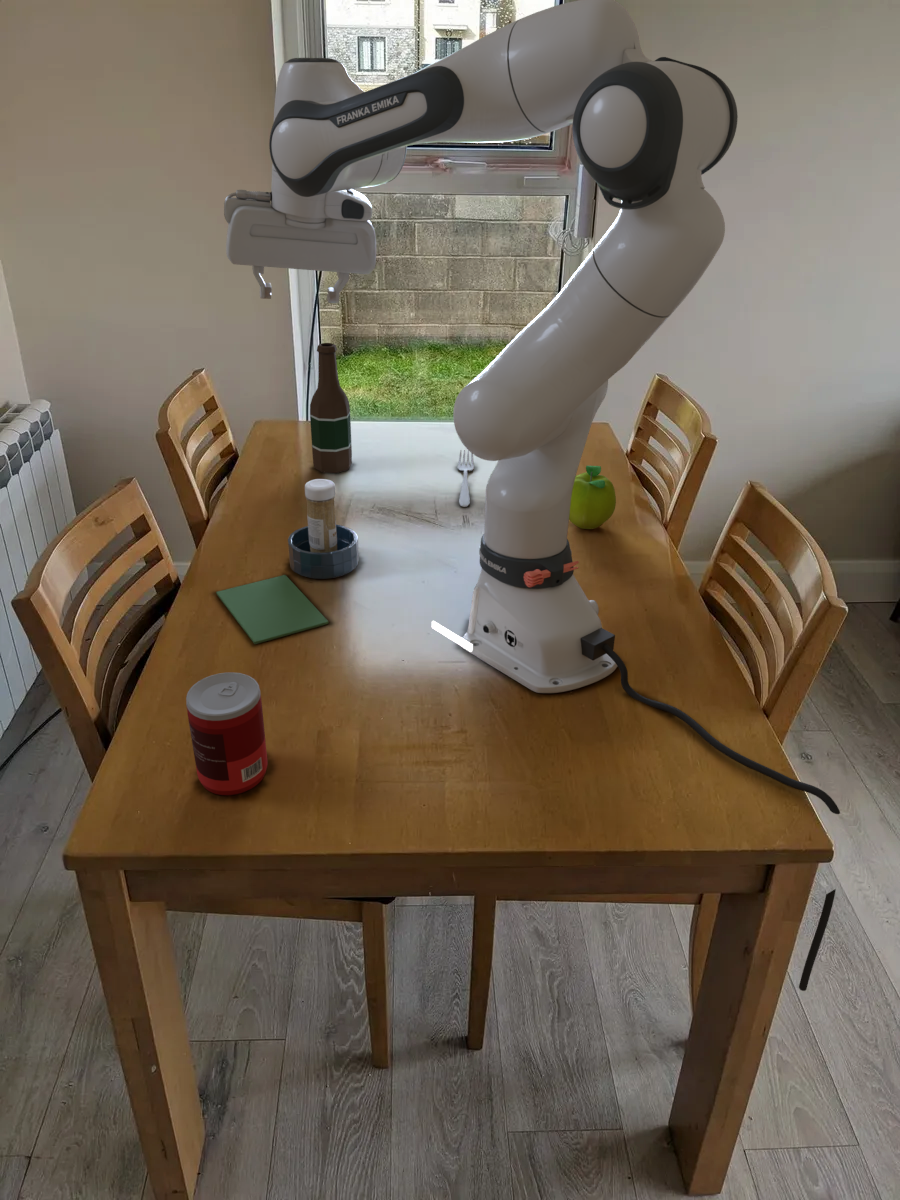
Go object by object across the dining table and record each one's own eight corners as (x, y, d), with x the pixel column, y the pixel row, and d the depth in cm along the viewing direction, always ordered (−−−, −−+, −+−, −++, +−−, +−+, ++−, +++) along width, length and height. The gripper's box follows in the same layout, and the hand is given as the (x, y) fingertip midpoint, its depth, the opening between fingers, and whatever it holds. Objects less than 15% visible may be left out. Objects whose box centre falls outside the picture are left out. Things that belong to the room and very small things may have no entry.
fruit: (611, 515, 164) (617, 462, 159) (614, 538, 156) (620, 483, 151) (559, 512, 165) (563, 460, 160) (559, 535, 157) (564, 480, 152)
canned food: (272, 750, 106) (264, 671, 101) (263, 797, 100) (253, 715, 94) (205, 750, 106) (194, 671, 101) (191, 798, 99) (178, 716, 94)
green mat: (328, 623, 131) (328, 621, 131) (254, 644, 126) (254, 642, 126) (285, 576, 143) (285, 574, 142) (216, 594, 138) (216, 591, 137)
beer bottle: (309, 461, 184) (302, 340, 172) (348, 457, 186) (343, 338, 175) (316, 475, 178) (309, 351, 166) (356, 471, 180) (351, 348, 168)
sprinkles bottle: (343, 564, 146) (340, 485, 139) (317, 571, 144) (312, 491, 137) (330, 553, 149) (326, 475, 142) (304, 560, 147) (299, 481, 140)
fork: (455, 506, 166) (455, 497, 165) (458, 458, 187) (458, 449, 186) (473, 507, 166) (473, 498, 165) (474, 458, 187) (474, 450, 186)
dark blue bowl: (370, 570, 145) (369, 544, 143) (306, 586, 140) (304, 560, 138) (340, 543, 153) (339, 518, 151) (279, 557, 148) (277, 532, 146)
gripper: (225, 194, 116) (224, 302, 124) (384, 209, 122) (373, 312, 130) (222, 182, 121) (222, 287, 129) (375, 197, 127) (365, 296, 135)
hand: (299, 299), depth 130 cm, fingers open, 8 cm apart
